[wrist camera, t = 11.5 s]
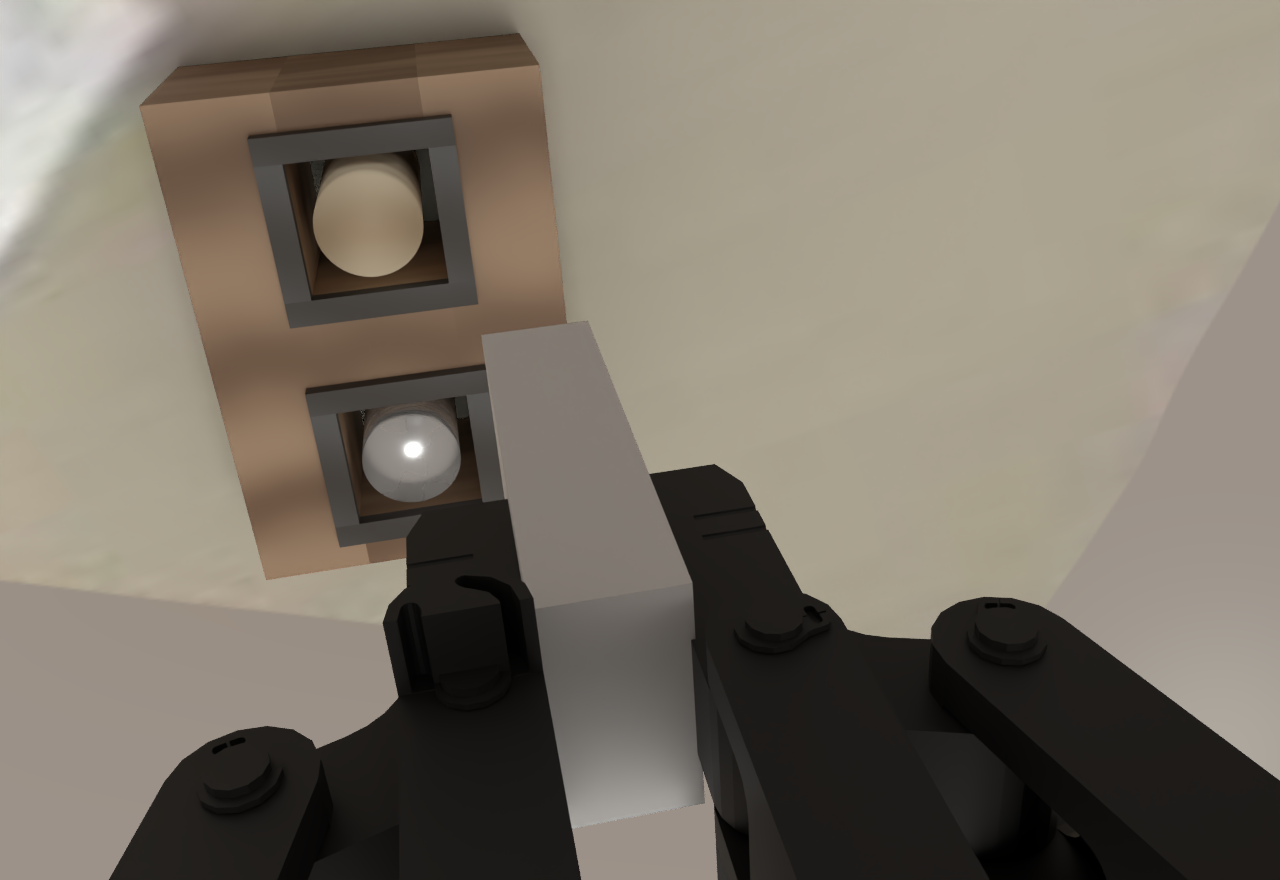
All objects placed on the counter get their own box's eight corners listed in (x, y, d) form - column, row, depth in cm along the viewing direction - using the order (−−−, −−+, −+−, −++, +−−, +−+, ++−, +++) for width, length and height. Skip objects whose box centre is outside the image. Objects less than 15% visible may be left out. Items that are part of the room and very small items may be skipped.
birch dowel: (316, 130, 48) (302, 178, 41) (411, 120, 49) (414, 166, 42) (334, 222, 50) (324, 283, 43) (426, 211, 51) (431, 269, 44)
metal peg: (359, 348, 53) (353, 424, 46) (446, 336, 54) (453, 410, 47) (374, 424, 55) (371, 508, 48) (458, 412, 56) (466, 494, 49)
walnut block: (177, 67, 47) (135, 109, 39) (519, 33, 49) (541, 67, 41) (282, 488, 56) (264, 587, 49) (565, 447, 58) (589, 536, 51)
